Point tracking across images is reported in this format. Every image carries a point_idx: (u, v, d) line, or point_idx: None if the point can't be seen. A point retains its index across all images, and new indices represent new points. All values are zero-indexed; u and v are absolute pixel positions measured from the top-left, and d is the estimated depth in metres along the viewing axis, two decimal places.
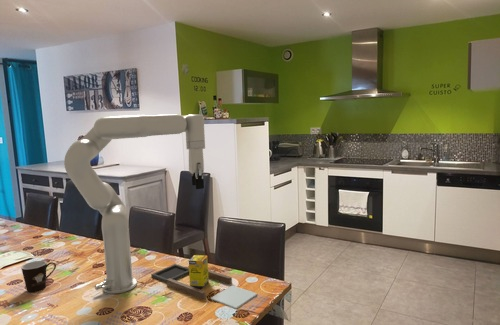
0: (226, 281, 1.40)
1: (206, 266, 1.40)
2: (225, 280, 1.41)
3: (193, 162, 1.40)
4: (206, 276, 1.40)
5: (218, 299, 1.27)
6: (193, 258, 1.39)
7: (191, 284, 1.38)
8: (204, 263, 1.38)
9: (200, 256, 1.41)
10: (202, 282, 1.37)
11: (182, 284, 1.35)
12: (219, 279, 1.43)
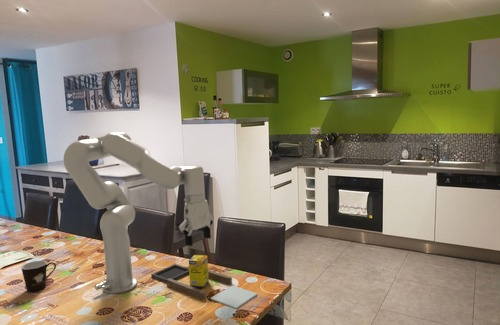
0: (226, 281, 1.40)
1: (206, 266, 1.40)
2: (225, 280, 1.41)
3: None
4: (206, 276, 1.40)
5: (218, 299, 1.27)
6: (193, 258, 1.39)
7: (191, 284, 1.38)
8: (204, 263, 1.38)
9: (200, 256, 1.41)
10: (202, 282, 1.37)
11: (182, 284, 1.35)
12: (219, 279, 1.43)
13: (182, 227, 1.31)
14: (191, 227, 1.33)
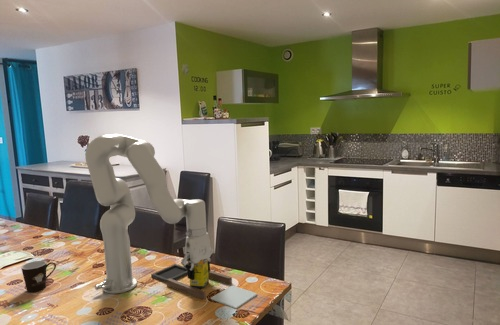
0: (226, 281, 1.40)
1: (206, 266, 1.40)
2: (225, 280, 1.41)
3: None
4: (206, 276, 1.40)
5: (218, 299, 1.27)
6: None
7: (191, 284, 1.38)
8: (204, 263, 1.38)
9: None
10: (202, 282, 1.37)
11: (182, 284, 1.35)
12: (219, 279, 1.43)
13: (184, 262, 1.33)
14: (192, 261, 1.34)
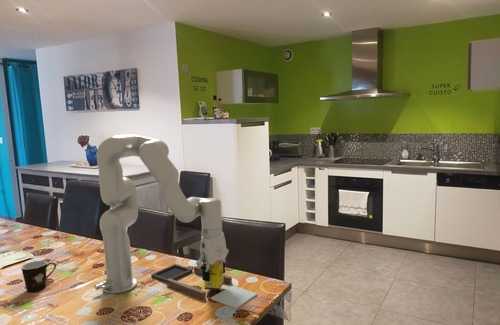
0: (226, 281, 1.40)
1: (221, 267, 1.35)
2: (225, 280, 1.41)
3: None
4: (221, 278, 1.35)
5: (218, 299, 1.27)
6: None
7: (206, 286, 1.33)
8: (220, 264, 1.32)
9: None
10: (218, 284, 1.32)
11: (182, 284, 1.35)
12: None
13: (199, 263, 1.28)
14: (208, 262, 1.29)
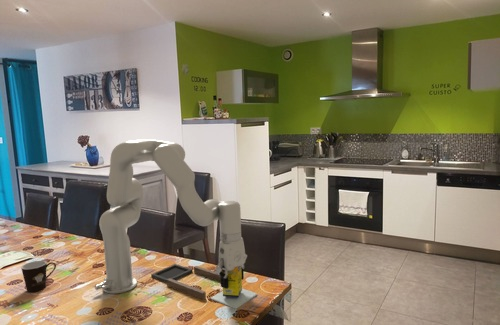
0: None
1: (240, 273, 1.29)
2: None
3: None
4: (240, 284, 1.29)
5: (218, 299, 1.27)
6: None
7: (224, 293, 1.27)
8: (239, 270, 1.27)
9: None
10: (237, 291, 1.26)
11: (182, 284, 1.35)
12: (219, 279, 1.43)
13: (218, 270, 1.22)
14: (227, 268, 1.23)
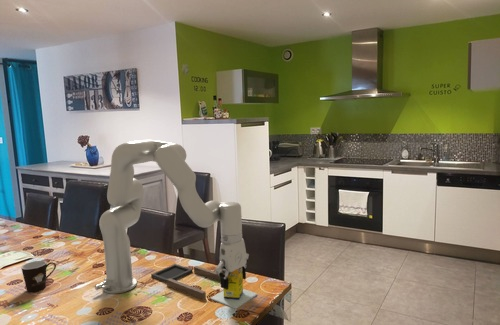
0: None
1: (241, 275, 1.29)
2: None
3: None
4: (241, 286, 1.29)
5: (218, 299, 1.27)
6: None
7: (225, 295, 1.27)
8: (239, 272, 1.27)
9: None
10: (237, 293, 1.26)
11: (182, 284, 1.35)
12: (219, 279, 1.43)
13: (218, 270, 1.21)
14: (228, 269, 1.23)
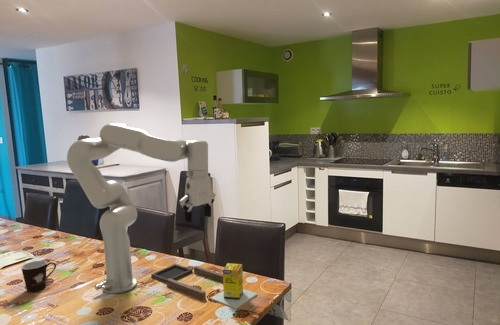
0: None
1: (241, 275, 1.29)
2: None
3: None
4: (241, 286, 1.29)
5: (218, 299, 1.27)
6: (227, 267, 1.28)
7: (225, 295, 1.27)
8: (239, 272, 1.27)
9: (234, 264, 1.30)
10: (237, 293, 1.26)
11: (182, 284, 1.35)
12: (219, 279, 1.43)
13: (182, 202, 1.27)
14: (191, 203, 1.28)
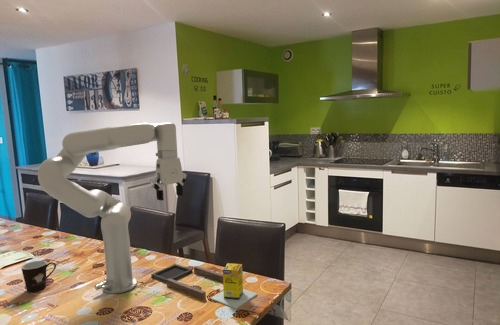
0: None
1: (241, 275, 1.29)
2: None
3: None
4: (241, 286, 1.29)
5: (218, 299, 1.27)
6: (227, 267, 1.28)
7: (225, 295, 1.27)
8: (239, 272, 1.27)
9: (234, 265, 1.30)
10: (237, 293, 1.26)
11: (182, 284, 1.35)
12: (219, 279, 1.43)
13: (153, 181, 1.34)
14: (162, 181, 1.35)
